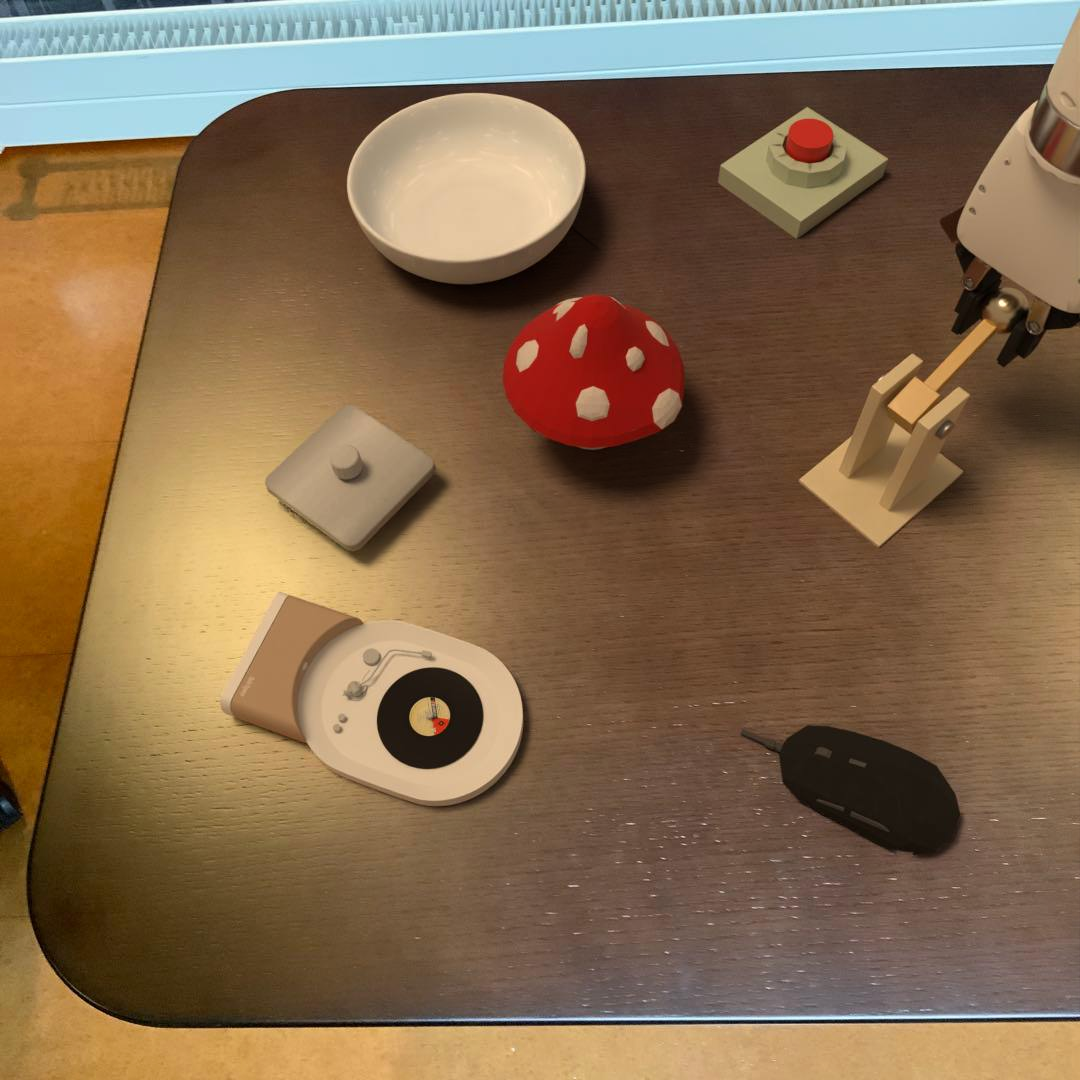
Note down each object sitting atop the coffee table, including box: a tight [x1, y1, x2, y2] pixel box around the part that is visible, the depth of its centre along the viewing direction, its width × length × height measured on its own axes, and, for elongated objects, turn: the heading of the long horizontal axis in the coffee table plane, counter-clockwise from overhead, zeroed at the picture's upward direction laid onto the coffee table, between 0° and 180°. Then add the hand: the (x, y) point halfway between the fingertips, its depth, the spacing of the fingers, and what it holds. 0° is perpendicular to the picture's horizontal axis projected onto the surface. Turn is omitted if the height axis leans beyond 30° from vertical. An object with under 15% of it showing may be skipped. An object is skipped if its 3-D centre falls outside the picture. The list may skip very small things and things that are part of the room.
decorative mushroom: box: [502, 293, 686, 451], centre depth 79 cm, size 14×14×15 cm
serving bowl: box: [346, 92, 587, 285], centre depth 94 cm, size 21×21×7 cm
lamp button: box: [785, 118, 833, 164], centre depth 95 cm, size 4×4×2 cm
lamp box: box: [717, 106, 889, 240], centre depth 97 cm, size 12×10×4 cm
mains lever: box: [887, 286, 1031, 435], centre depth 73 cm, size 12×3×3 cm, turn 131°
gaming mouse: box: [740, 724, 961, 856], centre depth 69 cm, size 6×15×4 cm, turn 62°
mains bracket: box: [798, 353, 971, 549], centre depth 77 cm, size 10×8×12 cm
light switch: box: [264, 404, 437, 552], centre depth 81 cm, size 10×10×5 cm
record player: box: [219, 591, 524, 807], centre depth 73 cm, size 12×3×20 cm
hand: (990, 337), depth 75 cm, fingers closed on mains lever, 3 cm apart
